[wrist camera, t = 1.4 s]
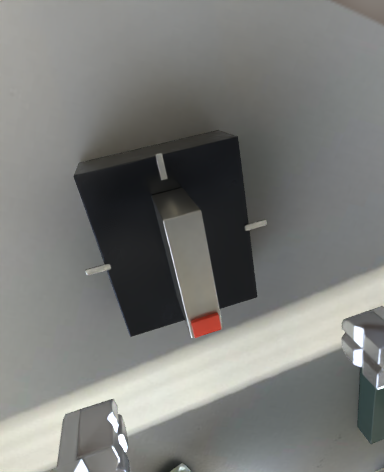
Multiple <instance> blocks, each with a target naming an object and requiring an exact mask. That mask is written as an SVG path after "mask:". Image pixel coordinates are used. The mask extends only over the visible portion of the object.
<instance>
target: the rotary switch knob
mask: <svg viewBox="0 0 384 472" xmlns="http://www.w3.org/2000/svg"><path fill="white" fill-rule="evenodd" d="M152 200H153V204H154V208H155V212H156V216H157V220H158V224H159V228H160V232H161V236H162V240H163V243H164V247H165V251H166V255H167V259H168V263H169V267H170V271H171V275H172V279H173V283H174V287H175V291H176V295H177V298H178V301H179V304H180V307H181V310H182V312H183V315H184V318H185V321H186V324H187V327H188V329H189V332H190V335H191V338H194V337H195V338H196V337H199V336H202V335H205V334H208V333H212V332H215V331H218V330H221V329H222V328H223V325H222V319H221V314H220V309H219V303H218V298H217V292H216V287H215V282H214V276H213V271H212V266H211V260H210V255H209V250H208V244H207V239H206V234H205V228H204V223H203V218H202V212H201V210H200V209H199V207H198V206H197V205H196V204H195V202H194V201H193V200H192V199H191V198H190V196H189V195H188V194H187V193H186V191H185V190H184V189H183V188H179V189H175V190H171V191H167V192H163V193H159V194H155V195H152Z"/></svg>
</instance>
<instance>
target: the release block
mask: <svg viewBox="0 0 384 472" xmlns="http://www.w3.org/2000/svg"><path fill="white" fill-rule="evenodd" d="M358 428H359V429H360V431H361V432H362V433H363V435H364V436H365V437H366V439H367V440H368V441H369V443H370V444H373V443H375V442H378V441H380V440H383V439H384V387H383V388H381V389H378V390H377V389H376V388H375V387H374V386H373V385H372V384H371V383H370V382H369V380H368V379H367V378H366V377H365V376H364V375H363V372H362V368H361V372H360V390H359V408H358Z"/></svg>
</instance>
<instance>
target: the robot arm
mask: <svg viewBox="0 0 384 472" xmlns="http://www.w3.org/2000/svg"><path fill="white" fill-rule="evenodd" d="M342 329H343V330H344V331H345V334H344V335H343V337H342V347H343V350H344V353H345V354H346V356H347V357H348V359H349V360H350V361H351V362H352V363H353V364H354V365H356V366H359V367H361V368H362V372H363V375H364V376H365V377H366V378H367V379H368V380H369V382H370V383H371V384H372V385H373V386H374V387H375V388H376V389H377V390H378V389H381V388H383V387H384V307H383V306H381V307H378V308H375V309H372V310H369V311H366V312H363V313H361V314H358V315H355V316H352V317H349V318H346V319H344V320H343V322H342ZM127 448H128V439H127V432H126V427H125V424H124V420H123V418H122V415H119V414H118V406H117V404H116V402H115V400H114V399H111V400H108V401H105V402H101V403H98V404H95V405H92V406H89V407H86V408H82V409H80V410H77V411H74V412H71V413H67V414H65V416H64V419H63V424H62V431H61V439H60V446H59V454H58V462H57V468H54V469H52V470H51V471H50V472H130V467H129V460H128V457H127V455H126V453H125V452H126V450H127ZM375 472H384V468H382V469H380V470H377V471H375Z"/></svg>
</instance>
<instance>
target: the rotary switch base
mask: <svg viewBox="0 0 384 472" xmlns="http://www.w3.org/2000/svg"><path fill="white" fill-rule="evenodd" d="M74 179H75V182H76V185H77V187H78V190H79V193H80V196H81V199H82V202H83V204H84V207H85V210H86V213H87V216H88V219H89V221H90V224H91V227H92V230H93V233H94V236H95V238H96V241H97V244H98V247H99V250H100V252H101V255H102V258H103V261H104V264H103V265H100V266H96V267H92V268H89V269H86V270H85V271H86V273H87V276H88V275H92V274H95V273H99V272H102V271H106V270H107V272H108V275H109V278H110V281H111V284H112V286H113V289H114V292H115V295H116V298H117V301H118V303H119V306H120V309H121V312H122V315H123V318H124V320H125V323H126V326H127V329H128V332H129V335H130V337H132V336H135V335H138V334H141V333H145V332H148V331H151V330H154V329H157V328H161V327H164V326H167V325H170V324H173V323H176V322H180V321H183V320H185V318H184V315H183V312H182V310H181V307H180V304H179V301H178V298H177V295H176V291H175V287H174V283H173V279H172V275H171V271H170V267H169V263H168V259H167V255H166V251H165V247H164V243H163V240H162V236H161V232H160V228H159V224H158V220H157V216H156V212H155V208H154V204H153V200H152V195H155V194H159V193H163V192H167V191H171V190H175V189H179V188H183V189H184V190H185V191H186V193H187V194H188V195H189V196H190V198H191V199H192V200H193V201H194V202H195V204H196V205H197V206H198V207H199V209H200V210H201V212H202V218H203V223H204V228H205V234H206V239H207V244H208V250H209V255H210V260H211V266H212V271H213V276H214V282H215V287H216V292H217V298H218V303H219V309H221V308H224V307H227V306H231V305H234V304H237V303H240V302H243V301H247V300H250V299H253V298H256V297H257V290H256V282H255V273H254V265H253V257H252V249H251V240H250V232H249V230H251V229H254V228H258V227H262V226H265V225H267V223H266V219H264V220H260V221H257V222H253V223H250V224H248V216H247V207H246V199H245V191H244V183H243V174H242V166H241V158H240V150H239V141H238V136H234V135H231V134H228V133H225V132H222V131H219V130H217V131H213V132H208V133H204V134H200V135H195V136H191V137H187V138H183V139H178V140H174V141H170V142H166V143H161V144H157V145H153V146H149V147H144V148H140V149H136V150H131V151H127V152H123V153H119V154H114V155H110V156H106V157H102V158H97V159H93V160H89V161H85V162H80V163H78V166H77V169H76V171H75V174H74Z"/></svg>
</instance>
